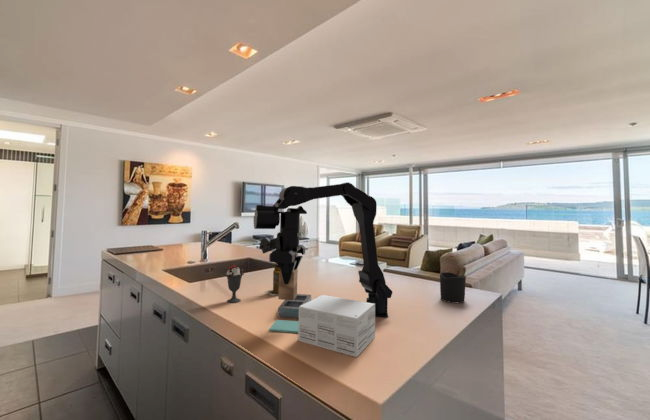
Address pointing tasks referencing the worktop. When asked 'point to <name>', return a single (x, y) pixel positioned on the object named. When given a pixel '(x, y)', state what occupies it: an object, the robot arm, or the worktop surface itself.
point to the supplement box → (337, 324)
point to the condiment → (275, 281)
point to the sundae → (234, 281)
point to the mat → (285, 326)
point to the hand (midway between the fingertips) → (288, 282)
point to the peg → (288, 287)
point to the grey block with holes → (293, 306)
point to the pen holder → (452, 287)
